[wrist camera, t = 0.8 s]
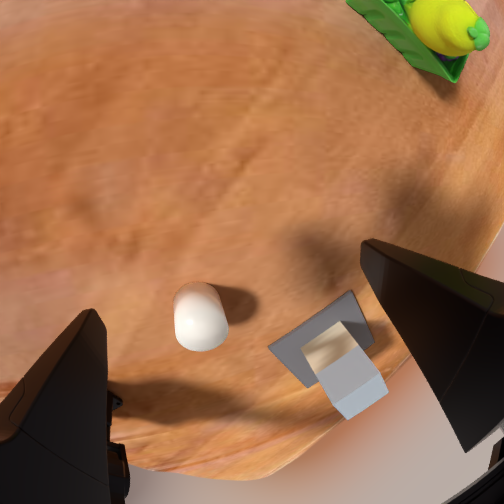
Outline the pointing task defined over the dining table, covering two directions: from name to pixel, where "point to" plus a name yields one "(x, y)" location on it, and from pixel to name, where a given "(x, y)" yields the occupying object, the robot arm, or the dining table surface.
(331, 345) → the bottom block
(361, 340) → the mat
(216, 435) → the dining table surface
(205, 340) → the white cylinder
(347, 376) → the top block
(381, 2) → the fruit basket
